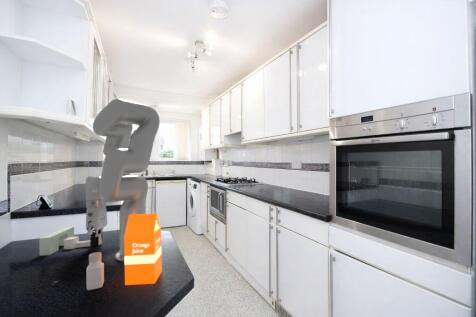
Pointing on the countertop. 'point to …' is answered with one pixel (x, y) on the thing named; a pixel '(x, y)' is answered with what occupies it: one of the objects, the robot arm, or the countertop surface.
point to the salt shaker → (95, 271)
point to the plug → (77, 242)
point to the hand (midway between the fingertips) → (96, 244)
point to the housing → (54, 240)
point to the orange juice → (142, 249)
